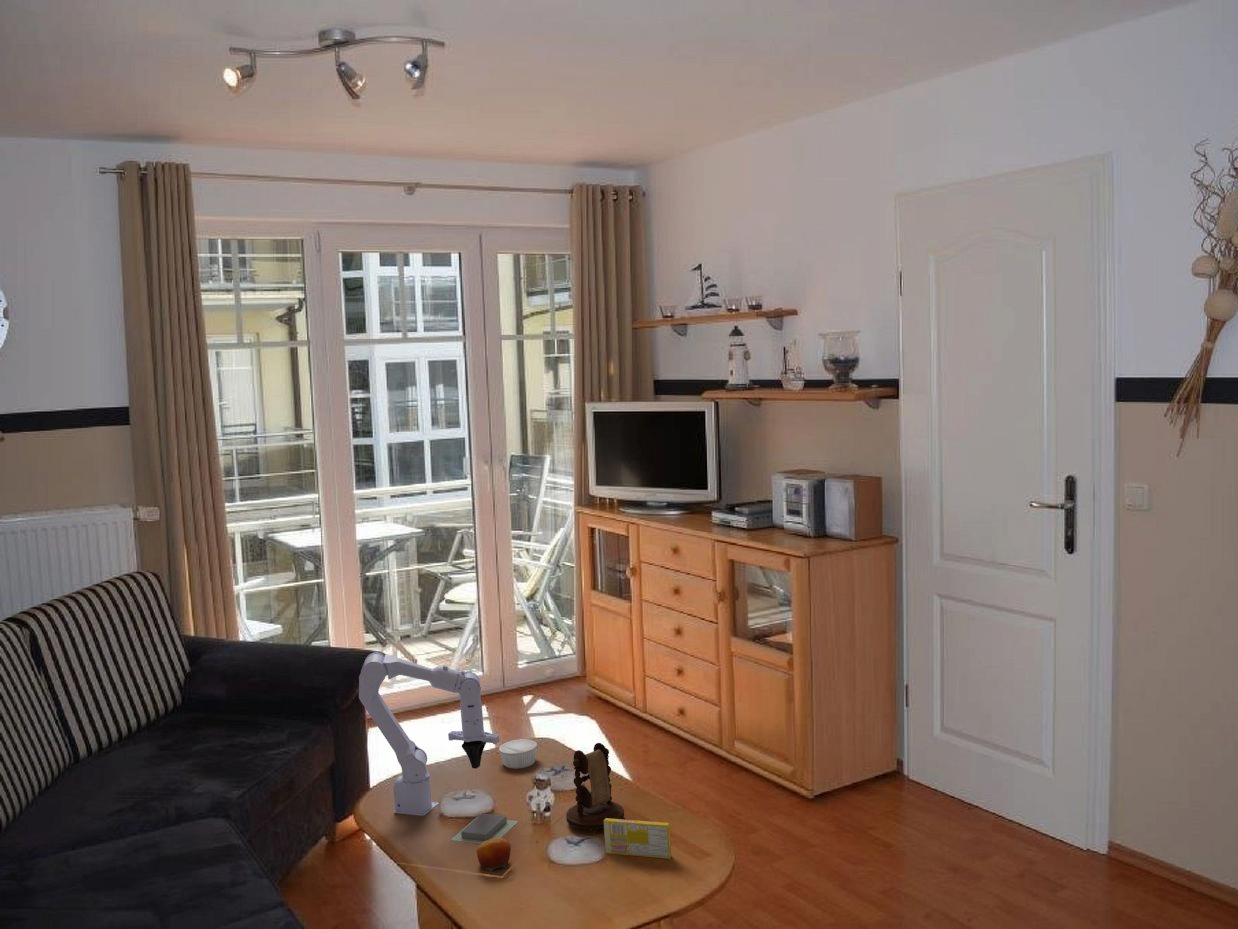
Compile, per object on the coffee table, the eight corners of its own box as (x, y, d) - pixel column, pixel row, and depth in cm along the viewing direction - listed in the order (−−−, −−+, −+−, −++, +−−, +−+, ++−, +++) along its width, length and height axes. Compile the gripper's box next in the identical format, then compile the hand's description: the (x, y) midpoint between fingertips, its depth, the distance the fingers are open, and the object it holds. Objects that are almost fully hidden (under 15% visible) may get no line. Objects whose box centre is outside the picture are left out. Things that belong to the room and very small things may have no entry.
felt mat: (450, 841, 284) (450, 840, 284) (477, 818, 297) (477, 816, 297) (492, 846, 280) (492, 845, 279) (518, 822, 292) (518, 821, 292)
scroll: (592, 840, 279) (586, 762, 277) (555, 823, 290) (549, 748, 288) (636, 820, 289) (631, 745, 287) (599, 805, 300) (593, 732, 298)
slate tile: (461, 831, 284) (485, 834, 282) (482, 813, 294) (506, 816, 292) (461, 838, 284) (486, 841, 282) (482, 819, 295) (506, 822, 292)
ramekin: (495, 770, 329) (494, 753, 328) (505, 756, 340) (504, 739, 339) (533, 770, 327) (532, 753, 326) (542, 756, 338) (541, 739, 337)
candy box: (672, 855, 269) (670, 822, 268) (669, 860, 267) (667, 826, 266) (608, 849, 274) (605, 817, 273) (605, 853, 272) (602, 820, 271)
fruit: (488, 875, 262) (479, 840, 265) (479, 880, 268) (470, 846, 271) (520, 865, 266) (511, 831, 268) (510, 870, 272) (502, 837, 275)
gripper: (440, 721, 303) (445, 770, 305) (488, 725, 298) (493, 775, 299) (454, 712, 310) (458, 760, 311) (501, 716, 304) (505, 765, 306)
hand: (476, 767), depth 306 cm, fingers closed
